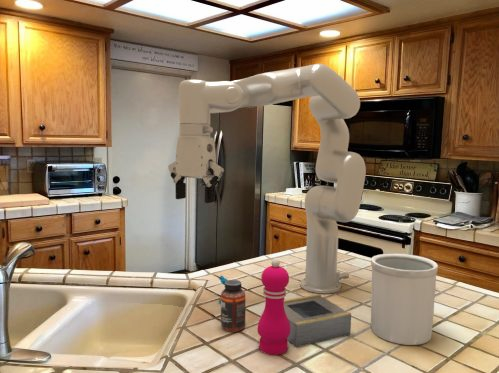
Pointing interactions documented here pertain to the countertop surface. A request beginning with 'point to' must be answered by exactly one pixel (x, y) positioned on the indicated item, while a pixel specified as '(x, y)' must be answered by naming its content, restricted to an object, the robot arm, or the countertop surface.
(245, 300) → the cyan jagged piece
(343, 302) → the countertop surface
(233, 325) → the supplement bottle
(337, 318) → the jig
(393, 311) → the utensil holder
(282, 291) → the pepper mill
